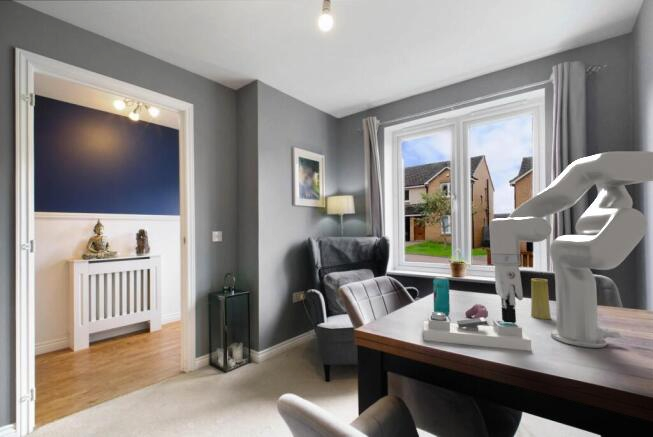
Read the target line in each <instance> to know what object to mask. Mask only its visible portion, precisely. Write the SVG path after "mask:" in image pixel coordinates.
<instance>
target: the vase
mask: <svg viewBox="0 0 653 437" xmlns="http://www.w3.org/2000/svg"><path fill="white" fill-rule="evenodd" d="M530 285H531V286H530V287H531V288H530V289H531V290H530V291H531V296H530V297H531V304H530V305H531V310H530V311H531V312H530V313H531V314H530V316H531V317H533V318H535V319H540V320H541V319H542V320H549V319H551V318H552V317H551V309H550V306H551V305H550V296H549V280H548V279H545V278H535V277H534V278H531V279H530Z"/></svg>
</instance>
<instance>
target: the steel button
mask: <svg viewBox="0 0 653 437" xmlns="http://www.w3.org/2000/svg"><path fill="white" fill-rule="evenodd" d="M431 315H432V320H438V321H445V313H442V312H434V311H433V312H431Z"/></svg>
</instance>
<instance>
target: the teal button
mask: <svg viewBox="0 0 653 437" xmlns="http://www.w3.org/2000/svg"><path fill="white" fill-rule="evenodd" d="M499 325H501V326H514V327H515V324H514V323H511V322H499Z"/></svg>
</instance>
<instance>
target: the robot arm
mask: <svg viewBox="0 0 653 437" xmlns="http://www.w3.org/2000/svg"><path fill="white" fill-rule="evenodd" d="M652 181H653V151H645V150H643V151H641V150H639V151H634V150H633V151H627V150H625V151H618V150H617V151H606V152H601V153H597V154H594V155H593V154H592V155H590V156H586V157H581V158H579V159H577V160H575V161H573V162H571V164H569V165H568V166H567V167H566V168H565V169H564V170H563V171H562V172H561V173H560V175H558V176H557V177H556V178H555V180H553V182H551V183H550V184H549V186H548V187H546V188H545V189H544V190H542V191H541V192H539V193H537V194H536V195H534V196H533V197H531V198H530V199H528V200H526V201H525V202H523V203H522V204H520V205H519V206H518V207H516V209H514V210H513V211H512V212H511V213H510V214H509V215H508V216H507V218H494V219H491V220H490V221H489V224H488V226H489V245H490V259H491V260H490V261H491V262H490V264H491V265H493V266H494V280H495V282H494V283H495V291H496V294H497V295H498V296H499V297H500V303H501V321H504V322H511V323H515V322H516V323H517V316H516V315H517V314H516V305H517V303H516V299H517V300H518V301H523V300H524V294H523V286H522V278H521V272H520V268H519V266H521V249H520V248H521V247H520V246H521V245H520V242H523V243H524V242H525V243H538V242H539V243H540V242H543V241H545V240H546V239H548V238H549V237H550V235H551V234H552V225H551V223H550V222H549V221H548V220H547V219H545V218H546V217H548V216H551V215H554V214H557V213H560V212H563V211H566V210H568V209H569V208H572V207H573V206H574V205H575V204H576V203H577V202H578V201H579V200H580V199H581V198H582V197H583V196H584V195H586V193H587V192H588V191H590V189H591V188H592V187H593V186H594V185H595V187H596V190H597V196H596V198H595V199H594V201H593V202H592V203H591V204H590V206H589V207H588V208H586V210H585V212H583V213H582V215H581V216H580V217H579V218H578V220H577V222H576V223H575V226H574V227H575V232H576V234H565V235H561V236H558V237H556V238H555V239H554V240H552V241H551V244H550V246H549V254H550V258H551V262H552V266H553V270H554V282H555V308H556V328H557V329H554V330H552V331H551V332H550V336H551V338H553V339H555V340H557V341H559V342H562V343H565V344H568V345H572V346H577V347H582V348H583V347H584V348H591V349H592V348H595V349H600V348H604V347H606V346H607V340H606V339H607V338H610V339H620V338H621V334H620V332H619V331H616V330H615V331H614V330H609V329H608V328H607V329H606V328H601V327H600V326H599V318H598V317H599V314H598V297H597V296H598V295H597V292H598V291H597V281H596V277H595V276H594V273H593V272H592V270H600V271H603V270H604V271H607V270H612V269H615V268H617V267H619V266H620V264H621V263H622V262H624V260H626V258H627V257H628V256H629V255H630V254H631V252H632V251H633V250H634V249H635V247H636V246H637V245H638V244H639V243H640V241H642V239H643V238H644V236H645V235H646V231H647V226H648V224H647V219H646V217H645V215H644V214H643V213H642V212H641V211H639V210H638V209H636V208H634V207H633V204H634V202H633V198H632V197H631V195H630V194H629V192H628V191H627V188H626V187H625V186H629V185H633V184H640V183H641V184H642V183H647V182H652ZM591 269H592V270H591Z"/></svg>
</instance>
